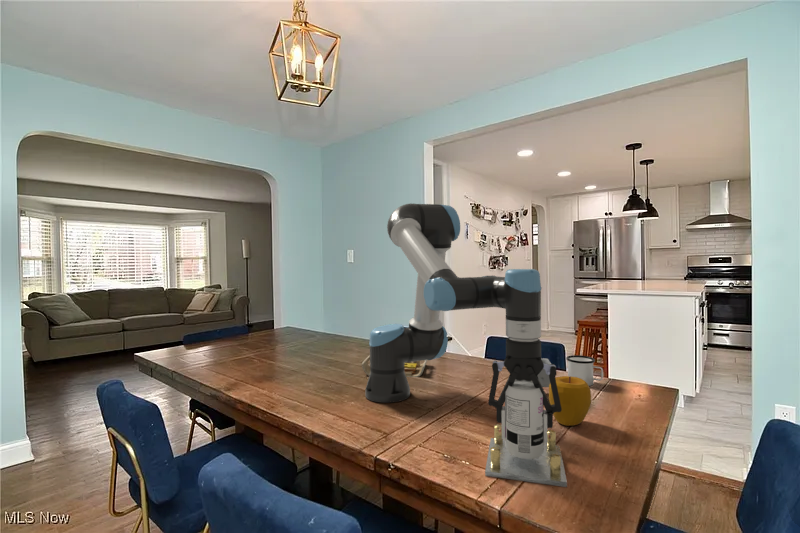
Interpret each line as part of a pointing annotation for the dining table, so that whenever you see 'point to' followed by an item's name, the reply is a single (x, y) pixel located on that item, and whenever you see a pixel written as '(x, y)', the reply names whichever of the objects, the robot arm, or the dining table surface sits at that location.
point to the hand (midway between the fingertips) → (524, 438)
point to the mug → (582, 368)
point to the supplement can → (524, 420)
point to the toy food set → (410, 368)
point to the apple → (571, 400)
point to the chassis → (526, 462)
